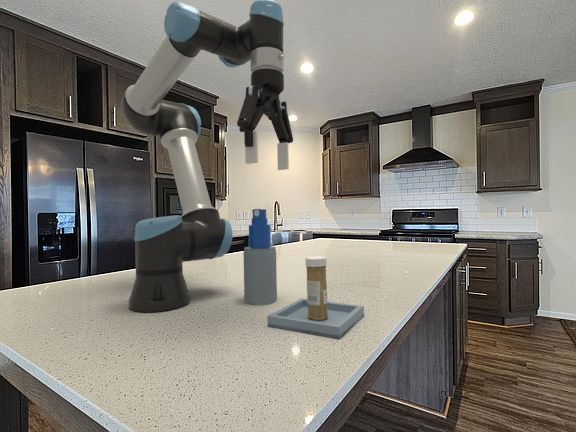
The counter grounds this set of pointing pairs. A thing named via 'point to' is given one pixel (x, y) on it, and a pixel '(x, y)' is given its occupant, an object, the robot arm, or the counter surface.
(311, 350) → the counter surface
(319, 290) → the sprinkles bottle
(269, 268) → the spray bottle
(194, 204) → the robot arm
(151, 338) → the counter surface
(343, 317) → the tray
